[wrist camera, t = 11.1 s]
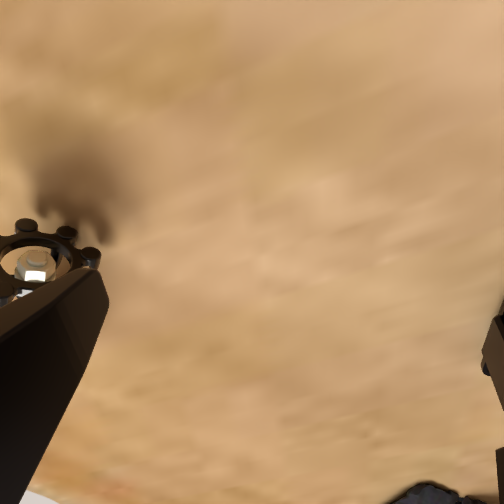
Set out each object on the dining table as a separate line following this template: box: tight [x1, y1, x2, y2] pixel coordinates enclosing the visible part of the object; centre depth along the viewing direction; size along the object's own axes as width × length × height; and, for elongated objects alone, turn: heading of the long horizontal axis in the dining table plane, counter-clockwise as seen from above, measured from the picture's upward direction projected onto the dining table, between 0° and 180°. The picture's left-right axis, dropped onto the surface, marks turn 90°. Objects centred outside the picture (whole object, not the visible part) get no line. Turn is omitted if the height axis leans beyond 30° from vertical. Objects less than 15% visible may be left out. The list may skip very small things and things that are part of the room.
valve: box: [0, 218, 101, 308], centre depth 25 cm, size 7×7×12 cm
